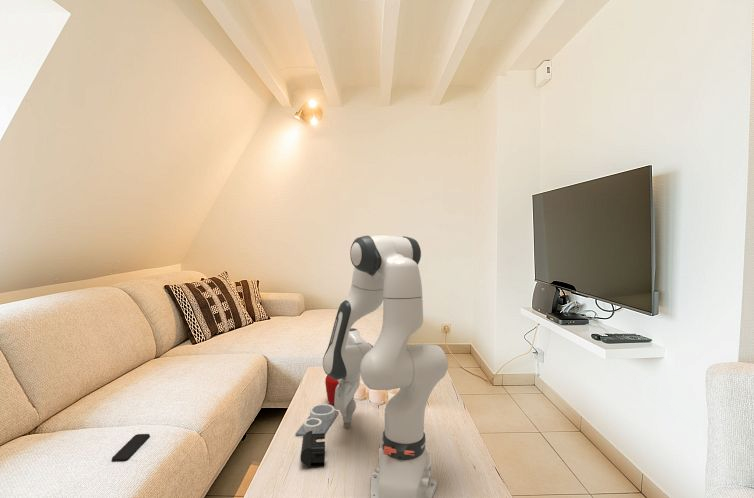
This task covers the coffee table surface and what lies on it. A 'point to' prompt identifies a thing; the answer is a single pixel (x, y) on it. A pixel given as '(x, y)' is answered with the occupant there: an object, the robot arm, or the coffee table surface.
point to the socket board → (318, 420)
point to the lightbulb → (349, 413)
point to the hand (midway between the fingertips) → (347, 411)
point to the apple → (331, 388)
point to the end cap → (313, 450)
